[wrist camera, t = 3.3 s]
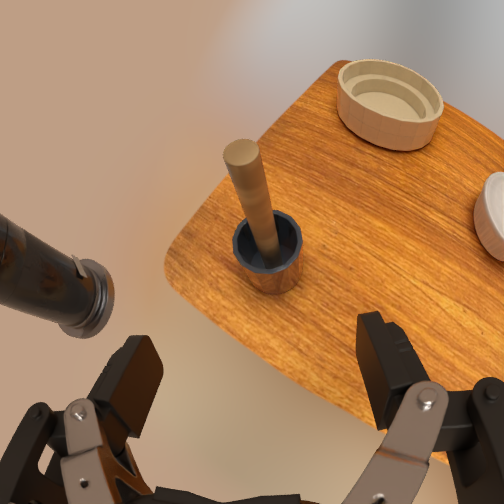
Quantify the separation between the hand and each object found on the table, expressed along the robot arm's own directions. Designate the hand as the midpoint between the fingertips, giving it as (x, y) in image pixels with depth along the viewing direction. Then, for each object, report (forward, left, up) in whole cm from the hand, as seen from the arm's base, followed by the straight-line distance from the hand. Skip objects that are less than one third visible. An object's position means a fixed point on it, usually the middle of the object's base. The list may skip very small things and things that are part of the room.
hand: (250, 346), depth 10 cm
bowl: (+6, +35, -17) cm, 39 cm away
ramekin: (+24, +21, -17) cm, 36 cm away
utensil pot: (-3, +8, -17) cm, 19 cm away
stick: (-3, +8, -17) cm, 19 cm away
